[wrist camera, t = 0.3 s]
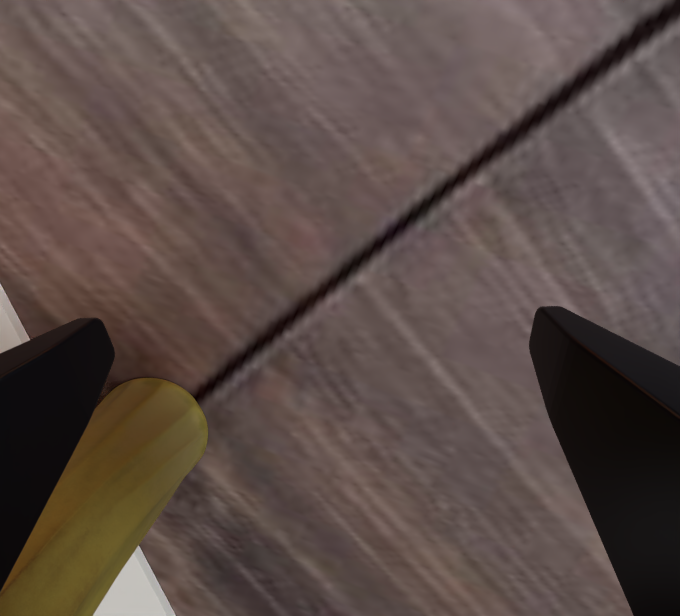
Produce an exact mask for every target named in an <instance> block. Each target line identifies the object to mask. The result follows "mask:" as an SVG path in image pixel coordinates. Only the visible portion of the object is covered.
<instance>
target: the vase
mask: <svg viewBox="0 0 680 616" xmlns="http://www.w3.org/2000/svg"><path fill="white" fill-rule="evenodd" d="M207 440H208V426H207V421H206V418H205V415H204V413H203V411H202V409H201V408H200V406H199V405H198V403H197V402H196V400H195V399H194V397H193V396H192V395H191V394H190V393H188V392H187V391H186V390H185V389H183V388H182V387H180V386H178V385H176V384H174V383H172V382H170V381H167V380H164V379H158V378H138V379H133V380H130V381H127V382H125V383H123V384H121V385H119V386H117V387H116V388H115V389H113V390H112V391H111V392H110V393H109V394H108V395H107V396H106V397H105V398H104V399H103V400H102V402H101V403H100V404H99V405H98V406H97V407H96V408H95V410H94V412H93V414H92V417H91V419H90V421H89V423H88V425H87V427H86V429H85V431H84V433H83V435H82V437H81V439H80V441H79V443H78V445H77V447H76V449H75V451H74V452H73V454H72V456H71V458H70V460H69V462H68V464H67V466H66V468H65V470H64V472H63V473H62V475H61V477H60V479H59V481H58V483H57V485H56V487H55V489H54V491H53V493H52V495H51V496H50V498H49V500H48V502H47V504H46V506H45V508H44V510H43V512H42V514H41V516H40V517H39V519H38V521H37V523H36V525H35V527H34V529H33V531H32V533H31V535H30V537H29V539H28V540H27V542H26V544H25V546H24V548H23V550H22V552H21V554H20V556H19V558H18V560H17V561H16V563H15V565H14V567H13V569H12V571H11V573H10V575H9V577H8V579H7V581H6V582H5V584H4V586H3V588H2V590H1V592H0V616H93V614H94V613H95V611H96V610H97V608H98V606H99V605H100V603H101V602H102V600H103V599H104V597H105V595H106V594H107V592H108V591H109V589H110V587H111V586H112V584H113V583H114V581H115V579H116V578H117V576H118V575H119V573H120V572H121V570H122V569H123V567H124V566H125V564H126V563H127V562H128V560H129V559H130V557H131V556H132V554H133V553H134V551H135V550H136V548H137V547H138V545H139V544H140V542H141V541H142V540H143V538H144V537H145V535H146V534H147V532H148V531H149V529H150V528H151V526H152V525H153V523H154V522H155V521H156V519H157V518H158V516H159V515H160V513H161V512H162V510H163V509H164V507H165V506H166V504H167V503H168V501H169V500H170V498H171V497H172V495H173V494H174V492H175V491H176V489H177V488H178V486H179V485H180V483H181V482H182V480H183V479H184V477H185V476H186V475H187V474H188V473H189V472H190V471H191V470H192V469H193V467H194V466H195V465H196V464H197V463H198V461H199V460H200V459H201V457H202V455H203V454H204V451H205V449H206V445H207Z"/></svg>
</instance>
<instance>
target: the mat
mask: <svg viewBox="0 0 680 616" xmlns="http://www.w3.org/2000/svg"><path fill="white" fill-rule="evenodd" d="M29 340H30V339H29V337H28V335H27V333H26V331H25V329H24V327H23V325H22V323H21V322H20V320H19V318H18V316H17V314H16V312H15V310H14V308H13V306H12V305H11V303H10V301H9V299H8V297H7V295H6V293H5V291H4V289H3V287H2V286H1V284H0V353H2V352H4V351H7V350H9V349H11V348H13V347H16V346H18V345H20V344H22V343H25V342H27V341H29ZM93 616H176V615H175V613H174V611H173V609H172V608H171V606H170V604H169V602H168V600H167V598H166V596H165V594H164V592H163V590H162V589H161V587H160V585H159V583H158V581H157V579H156V577H155V575H154V573H153V572H152V570H151V568H150V566H149V564H148V562H147V560H146V558H145V556H144V554H143V553H142V551H141V549H140V547H139V545H138V547H137V548H136V550H135V551H134V553H133V554H132V556H131V557H130V559H129V560H128V562H127V563H126V564H125V566H124V567H123V569H122V570H121V572H120V573H119V575H118V576H117V578H116V579H115V581H114V583H113V584H112V586H111V587H110V589H109V591H108V592H107V594H106V595H105V597H104V599H103V600H102V602H101V603H100V605H99V606H98V608H97V610H96V611H95V613H94V614H93Z"/></svg>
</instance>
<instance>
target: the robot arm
mask: <svg viewBox="0 0 680 616" xmlns="http://www.w3.org/2000/svg"><path fill="white" fill-rule="evenodd" d="M529 349H530V354H531V358H532V361H533V365H534V368H535V372H536V375H537V378H538V382H539V385H540V389H541V392H542V396H543V399H544V403H545V406H546V409H547V412H548V416H549V418H550V421H551V423H552V426H553V428H554V431H555V433H556V435H557V438H558V440H559V442H560V445H561V447H562V449H563V452H564V454H565V456H566V459H567V461H568V463H569V466H570V468H571V470H572V473H573V475H574V477H575V480H576V482H577V484H578V487H579V489H580V491H581V494H582V496H583V498H584V501H585V503H586V505H587V508H588V510H589V512H590V515H591V517H592V519H593V522H594V524H595V526H596V529H597V531H598V533H599V536H600V538H601V540H602V543H603V545H604V547H605V550H606V552H607V554H608V557H609V559H610V561H611V564H612V566H613V568H614V571H615V573H616V575H617V578H618V580H619V582H620V585H621V587H622V589H623V592H624V594H625V596H626V599H627V601H628V603H629V606H630V608H631V610H632V613H633V615H634V616H680V366H678V365H676V364H674V363H672V362H670V361H668V360H666V359H664V358H662V357H660V356H658V355H656V354H654V353H652V352H650V351H648V350H646V349H644V348H642V347H640V346H638V345H636V344H634V343H632V342H630V341H628V340H626V339H624V338H622V337H620V336H618V335H616V334H614V333H612V332H610V331H608V330H607V329H605V328H603V327H601V326H599V325H597V324H595V323H593V322H591V321H589V320H587V319H585V318H583V317H581V316H579V315H577V314H575V313H573V312H571V311H569V310H567V309H565V308H563V307H560V306H547V307H540V308H538V309H537V311H536V313H535V317H534V322H533V326H532V331H531V336H530V341H529ZM114 357H115V351H114V347H113V345H112V342H111V340H110V338H109V335H108V333H107V330H106V328H105V326H104V323H103V322H102V321H101V320H100V319H98V318H79V319H76V320H74V321H71V322H69V323H67V324H65V325H62V326H60V327H58V328H56V329H54V330H51V331H49V332H47V333H45V334H42V335H40V336H38V337H36V338H33V339H31V340H29V341H27V342H25V343H22V344H20V345H18V346H16V347H13V348H11V349H9V350H7V351H4V352H2V353H0V592H1V590H2V588H3V586H4V584H5V582H6V581H7V579H8V577H9V575H10V573H11V571H12V569H13V567H14V565H15V563H16V561H17V560H18V558H19V556H20V554H21V552H22V550H23V548H24V546H25V544H26V542H27V540H28V539H29V537H30V535H31V533H32V531H33V529H34V527H35V525H36V523H37V521H38V519H39V517H40V516H41V514H42V512H43V510H44V508H45V506H46V504H47V502H48V500H49V498H50V496H51V495H52V493H53V491H54V489H55V487H56V485H57V483H58V481H59V479H60V477H61V475H62V473H63V472H64V470H65V468H66V466H67V464H68V462H69V460H70V458H71V456H72V454H73V452H74V451H75V449H76V447H77V445H78V443H79V441H80V439H81V437H82V435H83V433H84V431H85V429H86V427H87V425H88V423H89V421H90V419H91V417H92V414H93V412H94V410H95V407H96V405H97V402H98V399H99V397H100V394H101V392H102V389H103V387H104V384H105V382H106V379H107V377H108V374H109V372H110V369H111V366H112V364H113V361H114Z"/></svg>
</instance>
